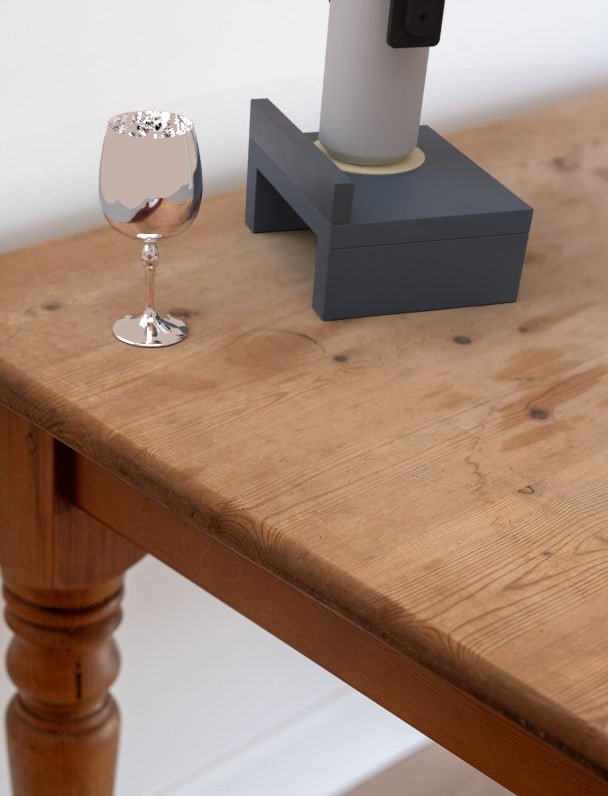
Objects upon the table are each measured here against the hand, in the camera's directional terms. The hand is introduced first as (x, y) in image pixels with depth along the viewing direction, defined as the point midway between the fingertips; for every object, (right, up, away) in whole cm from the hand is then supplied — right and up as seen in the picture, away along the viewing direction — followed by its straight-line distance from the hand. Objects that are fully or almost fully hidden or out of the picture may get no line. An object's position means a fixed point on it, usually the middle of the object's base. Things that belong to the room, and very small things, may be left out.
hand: (381, 24), depth 80 cm
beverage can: (0, -6, +5) cm, 8 cm away
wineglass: (-14, -20, -3) cm, 24 cm away
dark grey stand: (0, -13, +6) cm, 14 cm away
